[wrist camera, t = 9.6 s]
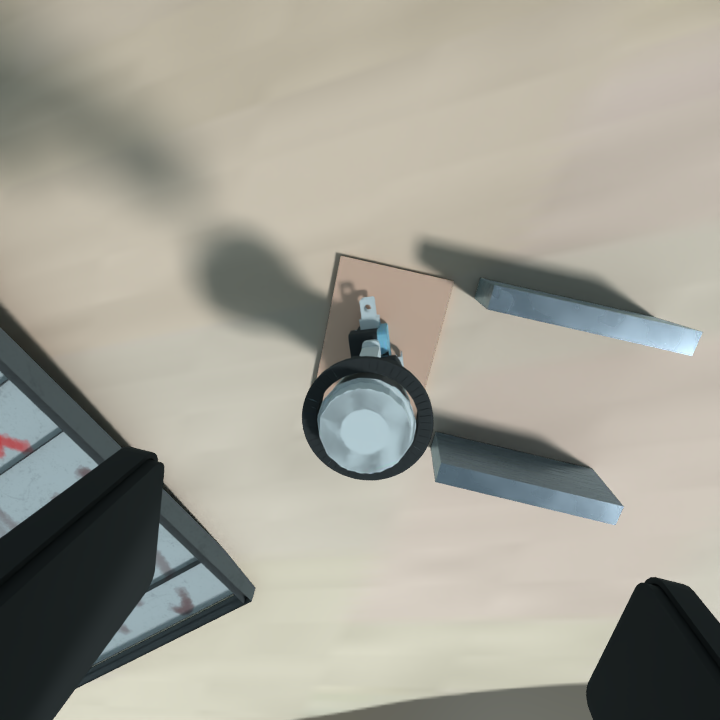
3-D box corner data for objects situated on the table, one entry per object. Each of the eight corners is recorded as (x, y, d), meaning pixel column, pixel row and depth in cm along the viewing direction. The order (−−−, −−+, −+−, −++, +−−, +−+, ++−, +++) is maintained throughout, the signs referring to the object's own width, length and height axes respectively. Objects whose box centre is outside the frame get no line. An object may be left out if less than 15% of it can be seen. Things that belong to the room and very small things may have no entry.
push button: (324, 301, 26) (278, 339, 16) (415, 289, 25) (424, 321, 15) (341, 406, 27) (308, 497, 18) (426, 398, 27) (441, 488, 17)
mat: (453, 281, 25) (454, 281, 25) (411, 436, 28) (411, 438, 27) (341, 255, 25) (340, 255, 25) (310, 412, 28) (309, 414, 28)
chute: (655, 317, 24) (702, 332, 21) (585, 485, 28) (615, 525, 24) (480, 277, 25) (494, 285, 21) (430, 448, 28) (435, 481, 24)
